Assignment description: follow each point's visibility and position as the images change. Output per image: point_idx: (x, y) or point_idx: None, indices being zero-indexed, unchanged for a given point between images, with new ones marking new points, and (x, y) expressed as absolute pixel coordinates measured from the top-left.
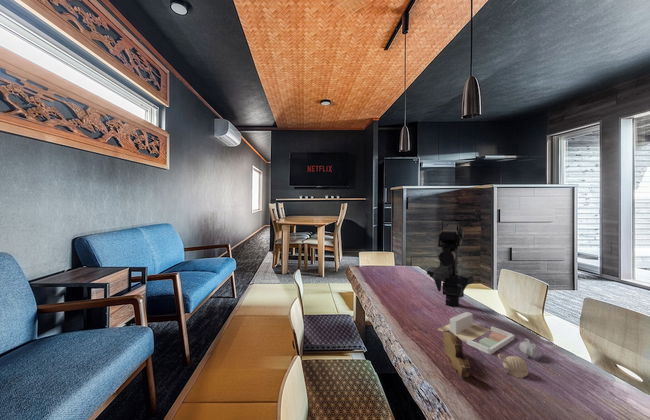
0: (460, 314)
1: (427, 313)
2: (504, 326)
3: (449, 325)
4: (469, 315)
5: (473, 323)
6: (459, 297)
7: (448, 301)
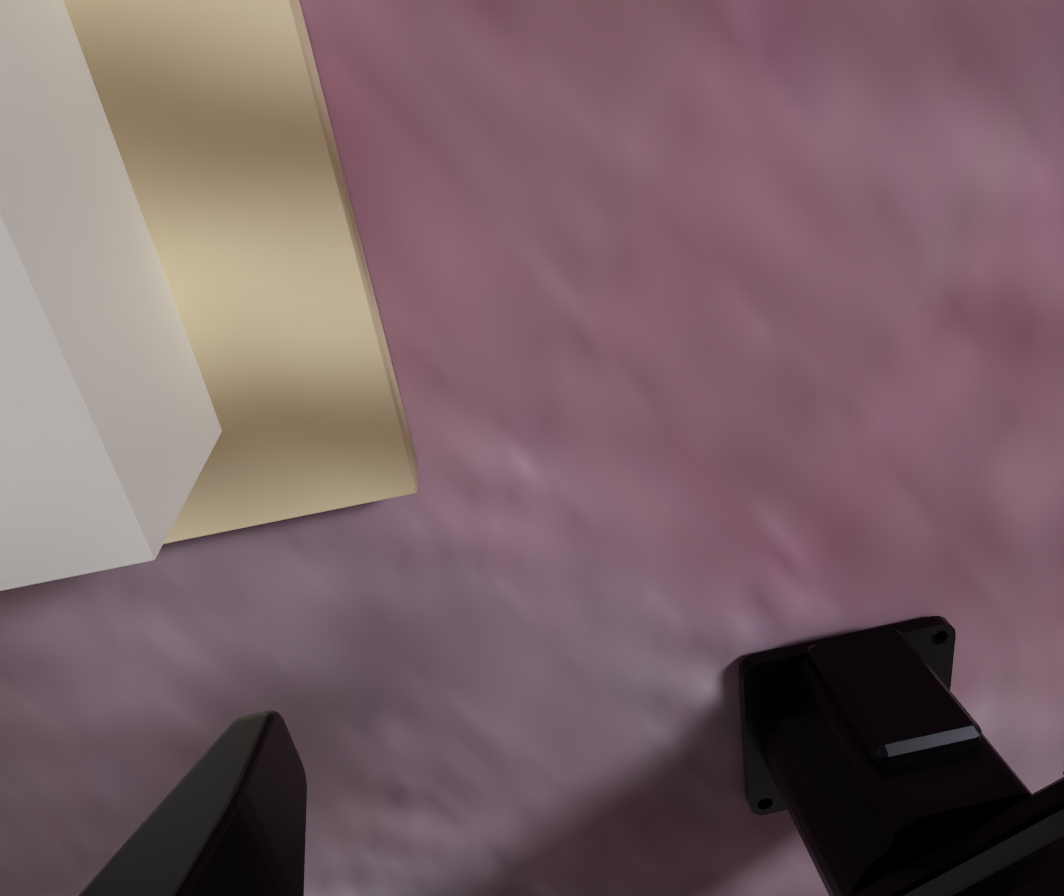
0: (14, 269)
1: (945, 158)
2: (106, 858)
3: (235, 6)
4: None
5: (184, 532)
6: (236, 737)
7: (900, 710)
